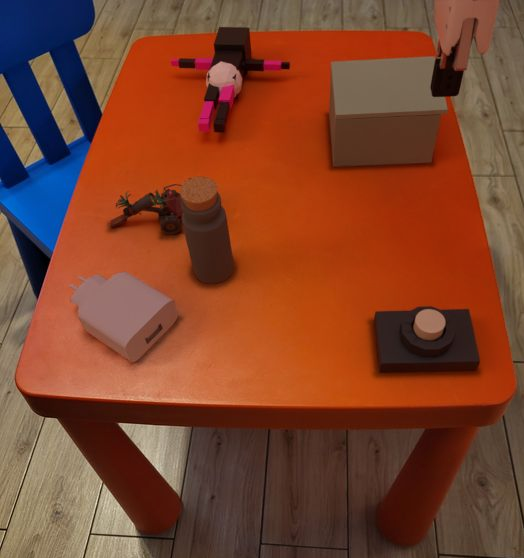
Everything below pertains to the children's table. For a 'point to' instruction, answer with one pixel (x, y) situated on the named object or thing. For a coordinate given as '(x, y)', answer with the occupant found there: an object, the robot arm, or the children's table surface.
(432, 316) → the button
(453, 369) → the control block
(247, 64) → the blocky doll
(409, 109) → the lid
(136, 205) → the toy vehicle
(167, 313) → the charger
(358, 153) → the chest
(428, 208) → the children's table surface
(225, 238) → the bottle
